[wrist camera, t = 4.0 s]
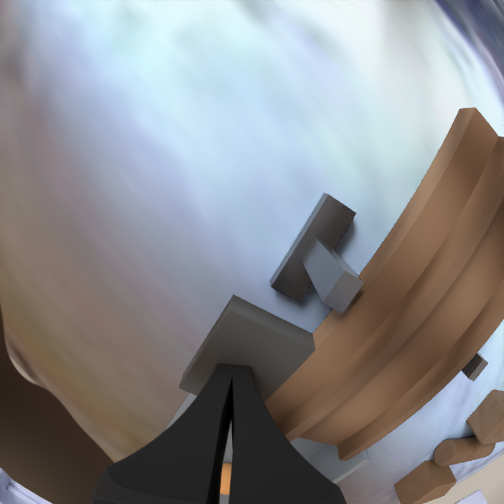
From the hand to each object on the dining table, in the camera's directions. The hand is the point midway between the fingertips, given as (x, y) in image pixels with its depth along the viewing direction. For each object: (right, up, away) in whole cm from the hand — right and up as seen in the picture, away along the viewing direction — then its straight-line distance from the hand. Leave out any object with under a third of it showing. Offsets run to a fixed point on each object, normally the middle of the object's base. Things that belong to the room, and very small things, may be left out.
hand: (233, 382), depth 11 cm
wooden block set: (+29, -19, +11) cm, 36 cm away
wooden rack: (+6, +3, 0) cm, 7 cm away
